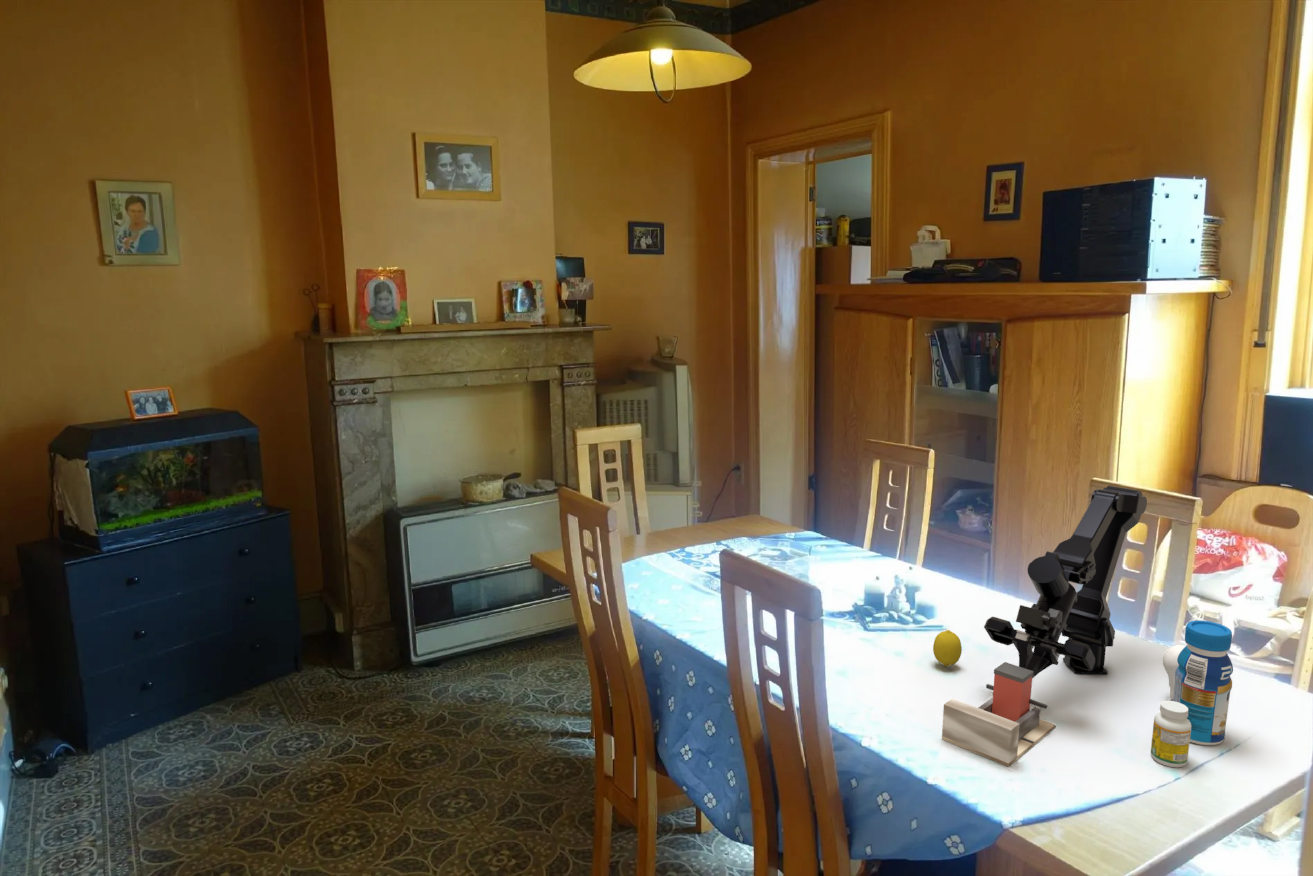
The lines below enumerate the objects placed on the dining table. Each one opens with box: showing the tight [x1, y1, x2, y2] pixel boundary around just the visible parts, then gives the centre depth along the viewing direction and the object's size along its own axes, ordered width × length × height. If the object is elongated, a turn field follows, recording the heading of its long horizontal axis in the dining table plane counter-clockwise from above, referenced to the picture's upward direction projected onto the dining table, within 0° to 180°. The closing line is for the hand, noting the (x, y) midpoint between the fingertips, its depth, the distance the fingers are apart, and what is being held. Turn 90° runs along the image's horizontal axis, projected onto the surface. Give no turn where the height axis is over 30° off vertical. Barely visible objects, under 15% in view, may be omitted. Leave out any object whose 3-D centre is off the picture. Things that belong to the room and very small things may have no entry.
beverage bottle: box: [1172, 619, 1234, 746], centre depth 152 cm, size 8×8×20 cm
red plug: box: [985, 661, 1048, 722], centre depth 156 cm, size 4×11×10 cm, turn 43°
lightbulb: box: [1161, 644, 1187, 700], centre depth 164 cm, size 6×6×11 cm
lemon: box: [932, 629, 963, 668], centre depth 180 cm, size 6×6×8 cm
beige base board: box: [941, 697, 1056, 768], centre depth 154 cm, size 18×12×7 cm, turn 133°
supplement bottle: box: [1150, 700, 1191, 768], centre depth 145 cm, size 5×5×10 cm
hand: (1021, 683), depth 159 cm, fingers closed
